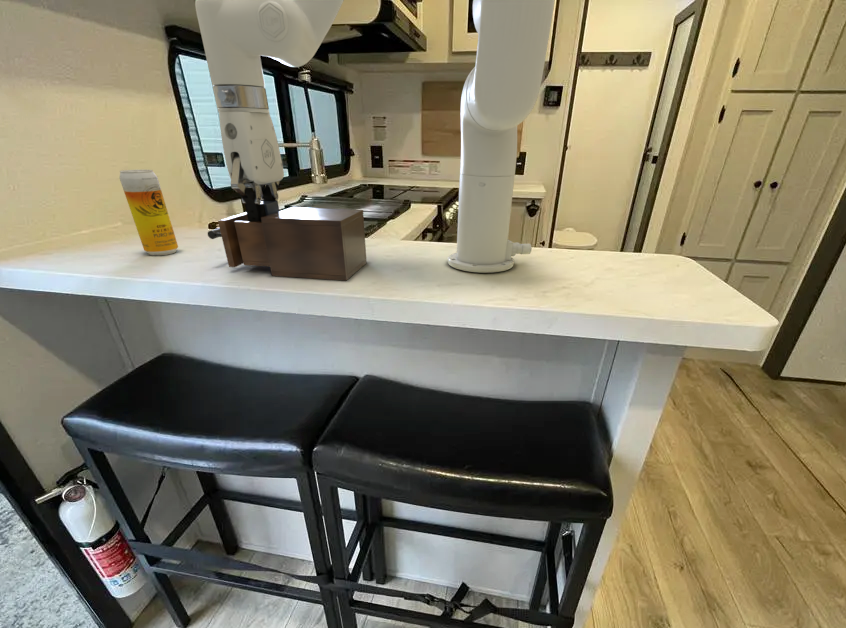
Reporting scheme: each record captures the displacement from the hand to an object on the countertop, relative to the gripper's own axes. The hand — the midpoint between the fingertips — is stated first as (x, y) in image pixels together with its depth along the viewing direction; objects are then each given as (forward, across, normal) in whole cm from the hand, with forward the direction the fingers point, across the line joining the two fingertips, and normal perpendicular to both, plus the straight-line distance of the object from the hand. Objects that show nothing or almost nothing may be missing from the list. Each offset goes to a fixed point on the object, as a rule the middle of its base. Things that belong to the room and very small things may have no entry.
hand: (266, 225), depth 73 cm
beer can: (+7, +5, +27) cm, 28 cm away
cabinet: (+7, 0, -10) cm, 12 cm away
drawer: (+6, 0, +2) cm, 7 cm away
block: (0, 0, 0) cm, 0 cm away
